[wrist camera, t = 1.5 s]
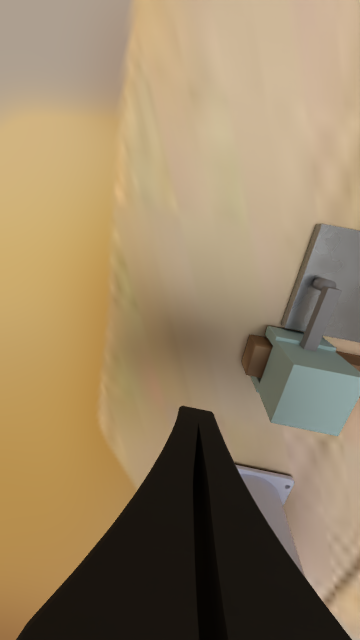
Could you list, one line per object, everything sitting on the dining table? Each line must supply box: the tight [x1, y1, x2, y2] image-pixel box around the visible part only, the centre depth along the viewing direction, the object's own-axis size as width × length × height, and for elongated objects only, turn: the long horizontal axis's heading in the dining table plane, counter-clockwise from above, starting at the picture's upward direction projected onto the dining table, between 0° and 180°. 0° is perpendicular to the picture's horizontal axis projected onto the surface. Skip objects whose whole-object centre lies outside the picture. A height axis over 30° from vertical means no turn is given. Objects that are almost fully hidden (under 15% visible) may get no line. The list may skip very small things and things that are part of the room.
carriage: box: [251, 277, 360, 436], centre depth 14 cm, size 9×4×5 cm, turn 170°
